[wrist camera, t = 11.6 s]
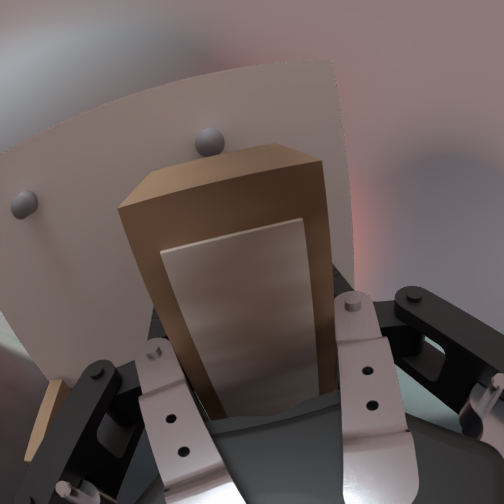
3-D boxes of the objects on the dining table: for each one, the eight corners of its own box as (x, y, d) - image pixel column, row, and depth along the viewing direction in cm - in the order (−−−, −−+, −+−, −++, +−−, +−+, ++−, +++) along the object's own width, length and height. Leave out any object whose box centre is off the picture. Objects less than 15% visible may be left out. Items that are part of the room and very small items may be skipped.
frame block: (238, 466, 11) (115, 210, 6) (227, 393, 15) (151, 171, 10) (334, 442, 11) (324, 161, 6) (307, 374, 16) (275, 143, 10)
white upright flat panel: (31, 470, 11) (-134, 240, 4) (59, 378, 18) (-40, 183, 11) (407, 419, 12) (441, 26, 5) (346, 320, 20) (322, 61, 12)
